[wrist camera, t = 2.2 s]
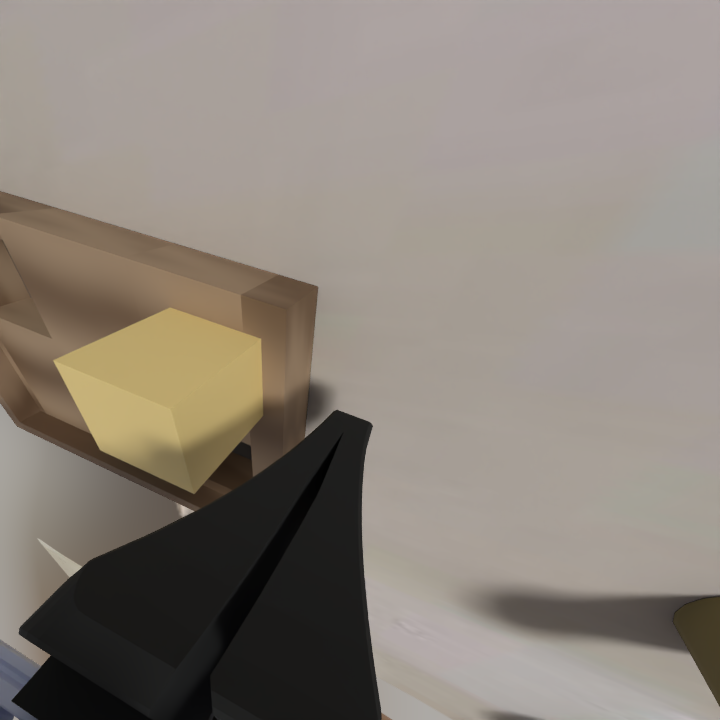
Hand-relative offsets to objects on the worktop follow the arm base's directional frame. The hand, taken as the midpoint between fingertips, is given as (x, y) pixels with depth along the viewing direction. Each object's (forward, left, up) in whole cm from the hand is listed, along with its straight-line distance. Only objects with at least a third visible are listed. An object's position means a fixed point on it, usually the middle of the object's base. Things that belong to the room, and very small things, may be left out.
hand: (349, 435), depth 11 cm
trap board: (-3, +13, -3) cm, 14 cm away
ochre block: (0, +6, -1) cm, 6 cm away
